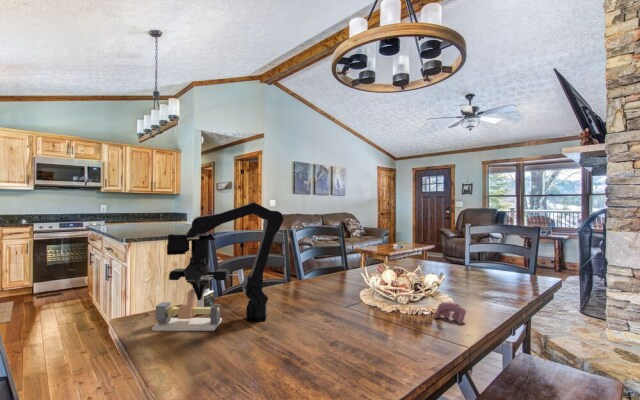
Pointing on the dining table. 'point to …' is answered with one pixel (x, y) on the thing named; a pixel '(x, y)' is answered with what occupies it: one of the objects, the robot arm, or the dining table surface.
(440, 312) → the video game controller
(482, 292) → the dining table surface
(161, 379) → the dining table surface
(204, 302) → the medicine bottle
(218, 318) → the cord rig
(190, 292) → the sleeve
